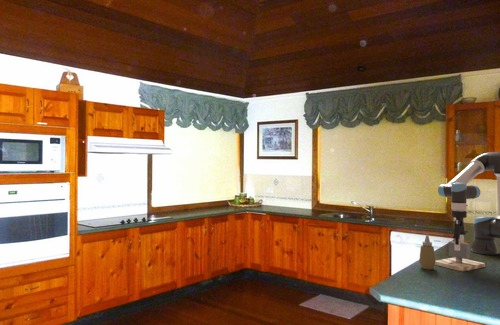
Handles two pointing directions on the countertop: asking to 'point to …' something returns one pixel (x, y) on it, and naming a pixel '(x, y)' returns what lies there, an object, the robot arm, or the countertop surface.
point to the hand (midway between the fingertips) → (459, 248)
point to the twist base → (459, 264)
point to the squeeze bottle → (427, 255)
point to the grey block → (463, 252)
